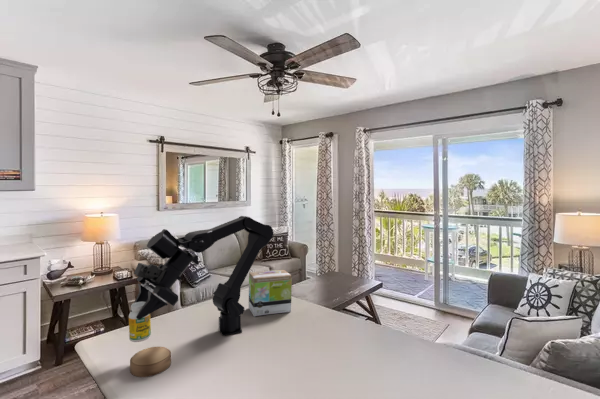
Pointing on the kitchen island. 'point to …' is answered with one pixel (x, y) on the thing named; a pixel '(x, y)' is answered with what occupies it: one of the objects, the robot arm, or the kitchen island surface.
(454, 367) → the kitchen island surface
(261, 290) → the tea box
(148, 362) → the pedestal
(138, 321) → the supplement bottle
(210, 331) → the kitchen island surface
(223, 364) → the kitchen island surface
